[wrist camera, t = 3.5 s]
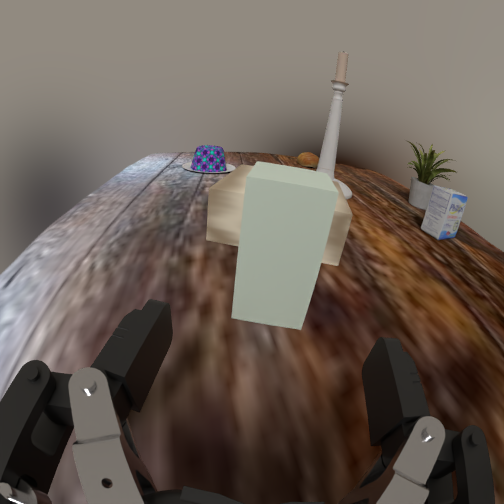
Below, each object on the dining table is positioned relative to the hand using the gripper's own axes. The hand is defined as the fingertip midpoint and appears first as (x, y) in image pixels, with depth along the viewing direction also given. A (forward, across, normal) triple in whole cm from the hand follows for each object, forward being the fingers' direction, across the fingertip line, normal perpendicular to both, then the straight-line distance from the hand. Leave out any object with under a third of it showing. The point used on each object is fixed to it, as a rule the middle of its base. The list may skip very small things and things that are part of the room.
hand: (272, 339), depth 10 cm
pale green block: (+10, 0, +6) cm, 11 cm away
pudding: (+52, +17, +7) cm, 55 cm away
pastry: (+76, -7, +7) cm, 77 cm away
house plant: (+54, -33, +6) cm, 63 cm away
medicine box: (+36, -30, +6) cm, 47 cm away
